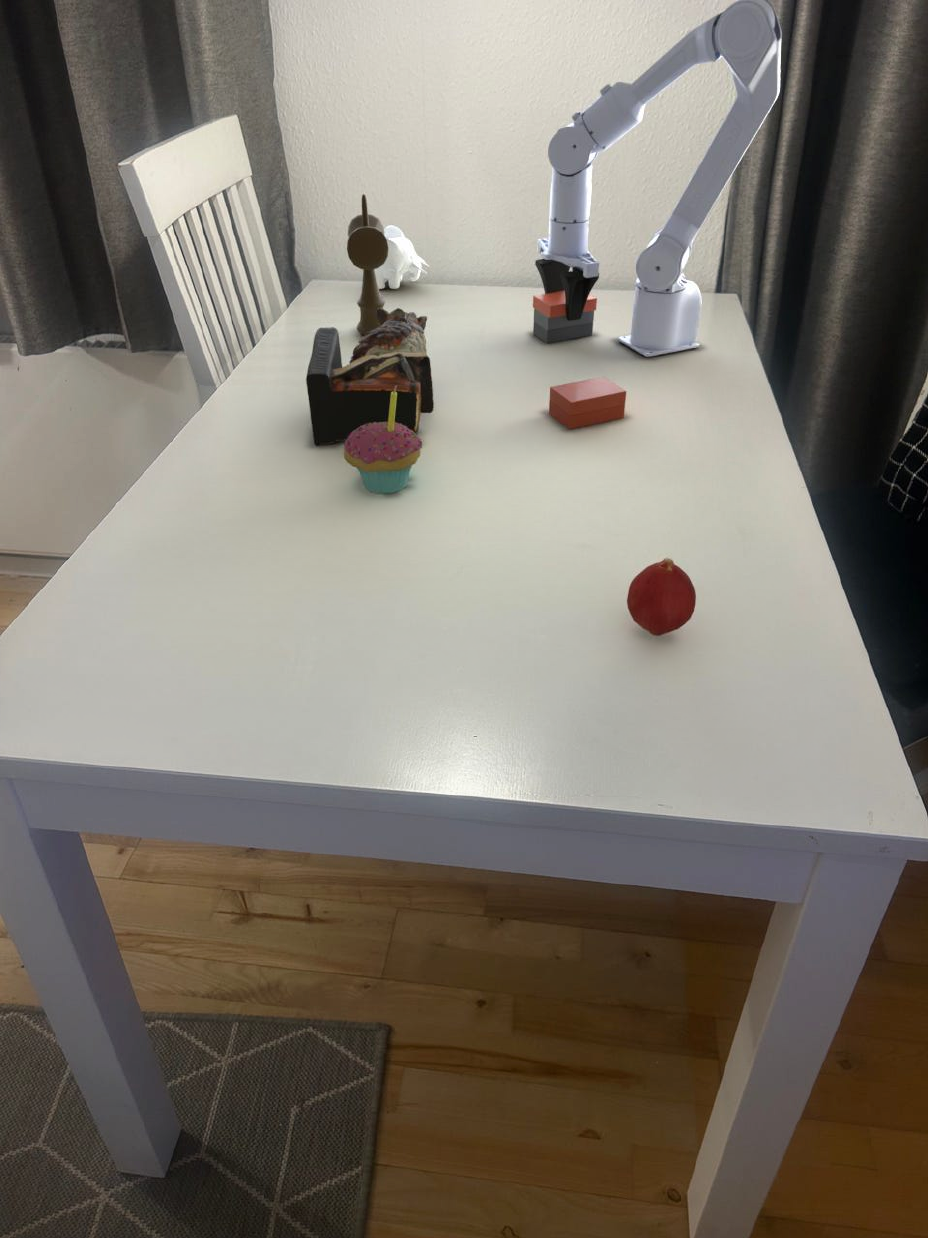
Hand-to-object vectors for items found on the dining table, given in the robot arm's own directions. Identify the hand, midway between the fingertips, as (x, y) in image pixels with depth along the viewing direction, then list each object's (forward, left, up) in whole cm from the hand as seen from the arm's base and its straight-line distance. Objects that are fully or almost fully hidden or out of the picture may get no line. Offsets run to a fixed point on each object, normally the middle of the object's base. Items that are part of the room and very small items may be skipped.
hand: (563, 313), depth 139 cm
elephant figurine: (+14, -35, -3) cm, 38 cm away
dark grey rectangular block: (0, 0, -3) cm, 3 cm away
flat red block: (0, 0, +1) cm, 1 cm away
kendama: (+26, -14, -3) cm, 30 cm away
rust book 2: (+12, +27, -2) cm, 30 cm away
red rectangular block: (+12, +27, -3) cm, 30 cm away
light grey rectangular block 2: (0, 0, -1) cm, 1 cm away
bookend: (+35, +12, -3) cm, 37 cm away
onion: (+30, +69, -3) cm, 75 cm away
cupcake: (+42, +33, -3) cm, 54 cm away
